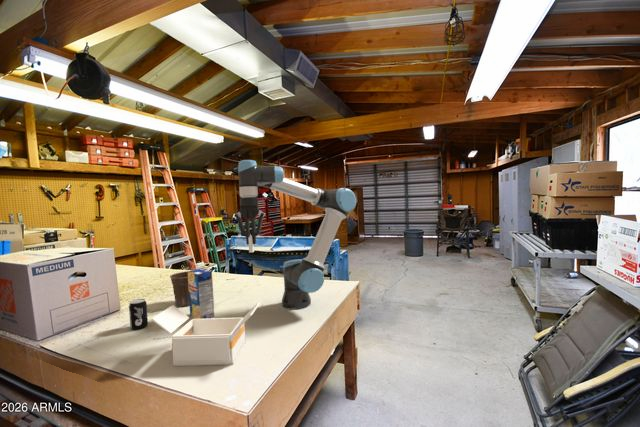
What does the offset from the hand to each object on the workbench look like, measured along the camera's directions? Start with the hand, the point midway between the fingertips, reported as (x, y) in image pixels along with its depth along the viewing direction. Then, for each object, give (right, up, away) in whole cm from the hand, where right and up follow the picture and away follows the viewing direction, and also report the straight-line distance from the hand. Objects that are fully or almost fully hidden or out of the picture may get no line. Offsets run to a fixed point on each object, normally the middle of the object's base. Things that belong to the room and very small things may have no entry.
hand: (251, 251), depth 120 cm
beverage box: (-27, -33, +14) cm, 45 cm away
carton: (-9, -34, -20) cm, 40 cm away
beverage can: (-52, -35, +5) cm, 62 cm away
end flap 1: (-20, -24, -21) cm, 37 cm away
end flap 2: (+1, -23, -21) cm, 31 cm away
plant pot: (-44, -33, +35) cm, 65 cm away
